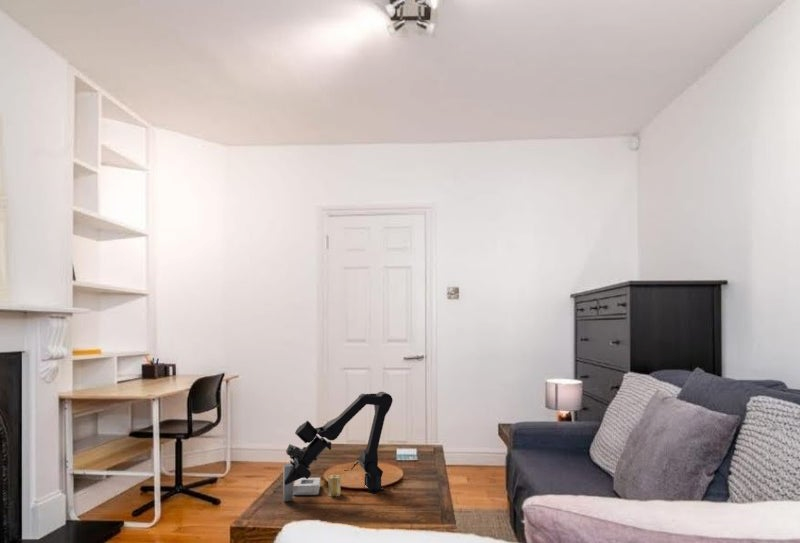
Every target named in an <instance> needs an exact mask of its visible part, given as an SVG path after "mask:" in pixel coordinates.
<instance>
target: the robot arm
mask: <svg viewBox="0 0 800 543" xmlns="http://www.w3.org/2000/svg"><path fill="white" fill-rule="evenodd" d="M392 397H393V396H392V395H391V394H389V393H387V392H385V391H379V392H377V393H360V395H359V396H358V397H357V398H356V399H355V400H354V401H352V402H351V404H350V405H348V407H347V408H345V409H344V411H342V412H341V413H340V414H339V415H338V416H336V417H335V418H333V419H331V420H329V421H327V422H326V423H325V424H324V425H323V426H320V427H319V426H318V427H314V425H312V424H311V422H309V421H308V420H306V421H304V423H302V424H300V425H299V426H298V427H297V429H296V430H295V433H294V434H295V435H296V436H297V437H298V438H299V439H300V440H301V441H303V443H304V444H308V443H309V444H308V445H307V446H303V447H302V448H301V447H299V446H296V445H293V444H291V443H290V444H288V446H287V449H286V450H285V453H286V455H287V456H289V458H290V459H291V460H290V461H289V462H290V463H289V464H292V465H293V466H292V472H291V473H290V475H289V476H288V478H287V479H286V481H285V482H284V484H285V485H287V484H289V483H291V482H293V483H294V482H295V481H296V480H298V479H300V478H306V479H308V478H311V476H312V472H311V470H310V468H311V464H313V463H314V462H316V461H317V460H318V457H319V456H320V455H321V454H322V452H323V451H325V449H326V448H328V450H329V451H331V450H332V442H331V441H335V440H336V439H338V437H339V436H340V435H341V433H342V431H343V429H344V428H345V426H346V425H347V424H348V423H349V422H350V421H351V420H352V419H353V418H354V417H355V416H356V415H357V414H358V413H359V412H360V411H362V409H363V408H365V407H366V406H367V405H371V406H374V415H373V420H372V423H371V429H370V431H369V436H368V439H367V446H366V448H365V450H360V455H359V457H360V458H359V466H360V467H361V468H362V469H363V471H364V486H365V485H366V486H367V487H368V488H369V489H368V490H367V491H366V492H369V493H371V494H376V493H377V492H380V491H382V490H384V488H385V487H382V477H383V473H384V471H383V470H382V469H381V468H380V467H379V466H378V465H379V455H378V454H379V453H378V450H379V445H380V439H381V436H382V431H383V428H384V427H383V426H384V423H385V418H386V416H387V415H388V412H389V411H390V410H391V407H392V404H393V402H394V401H393V398H392ZM318 435H319V436H318ZM327 440H328V441H327ZM381 487H382V488H381Z"/></svg>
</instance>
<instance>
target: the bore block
mask: <svg viewBox="0 0 800 543" xmlns="http://www.w3.org/2000/svg"><path fill="white" fill-rule="evenodd" d="M320 489H321V477H309V478H308V479H306V478H305V477H304V478H300V479H298V480H296V481H294V482H293V496H310V495H311V496H312V495H314V496H315V495H319V493H320Z"/></svg>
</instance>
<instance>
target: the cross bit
mask: <svg viewBox="0 0 800 543" xmlns="http://www.w3.org/2000/svg"><path fill="white" fill-rule="evenodd" d="M327 482H328V487H327V488H328V490H327V493H328V494H327V495H328V497H330V498H331V497H337V496H338V497H340V496H341V475H340V474H336V475H333V474H330V475H328V480H327Z"/></svg>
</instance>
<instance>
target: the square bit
mask: <svg viewBox="0 0 800 543" xmlns="http://www.w3.org/2000/svg"><path fill="white" fill-rule="evenodd" d="M292 466H293V465H292V464H290V463H287V464H283V470H282V471H283V478H282V480H283V482H282V483H283V486H282V500H283V502H293V500H294V498H293V497H294V495H293V485H294V481H293V482H291V483H289V484H287V485H285V484H284V482H285V481H286V479H287V478H288V476H289V475H290V473H291V472H292Z"/></svg>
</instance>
